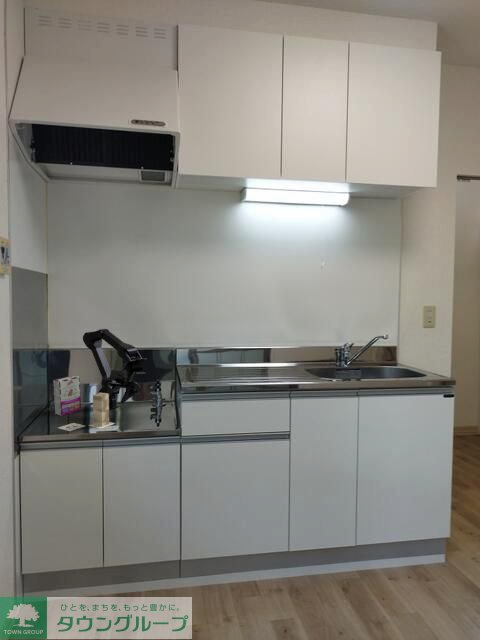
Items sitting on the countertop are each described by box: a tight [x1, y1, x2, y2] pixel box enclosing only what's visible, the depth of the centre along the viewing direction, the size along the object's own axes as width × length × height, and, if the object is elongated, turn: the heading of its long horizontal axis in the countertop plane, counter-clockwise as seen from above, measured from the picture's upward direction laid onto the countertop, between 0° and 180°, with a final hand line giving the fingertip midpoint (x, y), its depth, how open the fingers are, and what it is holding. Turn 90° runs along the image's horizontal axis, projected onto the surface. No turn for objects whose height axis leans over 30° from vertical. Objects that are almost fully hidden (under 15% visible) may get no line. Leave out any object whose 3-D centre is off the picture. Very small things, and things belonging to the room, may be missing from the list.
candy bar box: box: [52, 375, 82, 417], centre depth 211 cm, size 11×5×16 cm, turn 148°
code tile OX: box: [88, 421, 116, 430], centre depth 194 cm, size 8×8×1 cm
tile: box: [57, 422, 85, 432], centre depth 190 cm, size 8×8×1 cm
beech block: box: [92, 392, 110, 426], centre depth 193 cm, size 4×4×13 cm
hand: (112, 402), depth 200 cm, fingers open, 9 cm apart
